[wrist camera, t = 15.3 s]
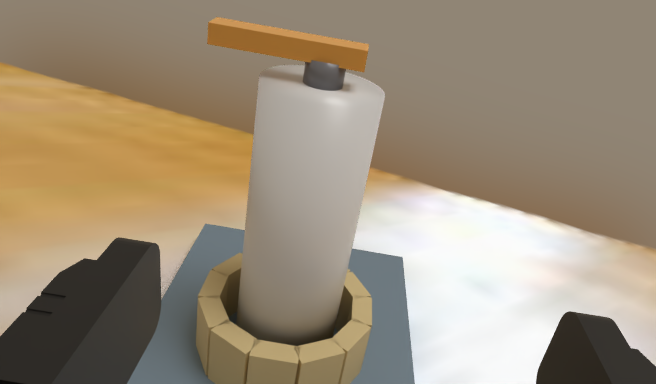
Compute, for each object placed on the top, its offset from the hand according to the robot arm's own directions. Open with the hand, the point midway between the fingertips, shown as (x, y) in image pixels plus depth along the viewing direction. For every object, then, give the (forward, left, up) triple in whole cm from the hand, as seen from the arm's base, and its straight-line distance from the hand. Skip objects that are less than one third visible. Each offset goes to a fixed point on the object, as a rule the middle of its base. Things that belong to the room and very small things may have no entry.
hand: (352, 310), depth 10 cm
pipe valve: (+2, -12, -13) cm, 18 cm away
